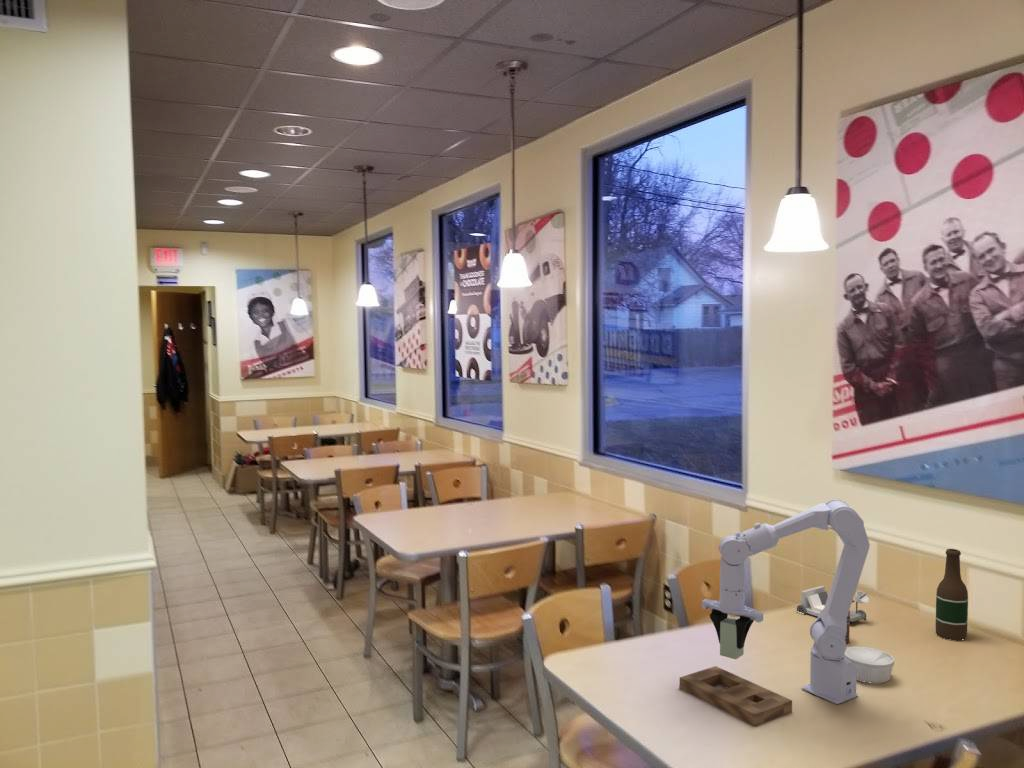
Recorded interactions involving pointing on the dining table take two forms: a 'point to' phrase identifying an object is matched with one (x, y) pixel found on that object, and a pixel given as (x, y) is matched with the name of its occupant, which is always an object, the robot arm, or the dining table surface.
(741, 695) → the socket board
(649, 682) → the dining table surface
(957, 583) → the beer bottle
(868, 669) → the ramekin
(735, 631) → the peg
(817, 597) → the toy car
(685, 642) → the dining table surface
